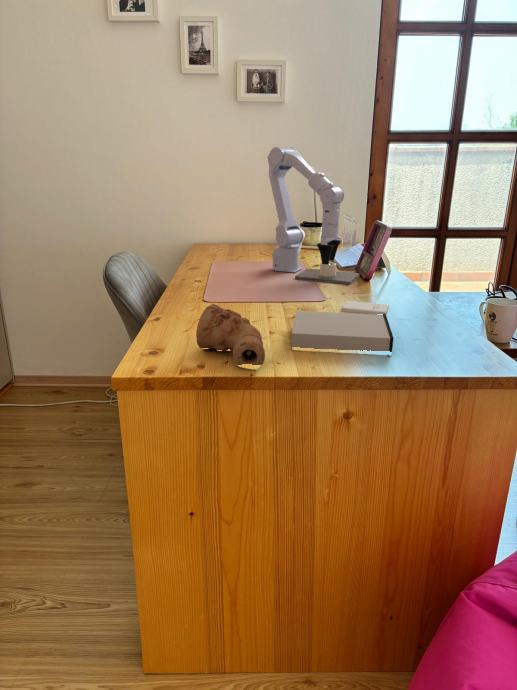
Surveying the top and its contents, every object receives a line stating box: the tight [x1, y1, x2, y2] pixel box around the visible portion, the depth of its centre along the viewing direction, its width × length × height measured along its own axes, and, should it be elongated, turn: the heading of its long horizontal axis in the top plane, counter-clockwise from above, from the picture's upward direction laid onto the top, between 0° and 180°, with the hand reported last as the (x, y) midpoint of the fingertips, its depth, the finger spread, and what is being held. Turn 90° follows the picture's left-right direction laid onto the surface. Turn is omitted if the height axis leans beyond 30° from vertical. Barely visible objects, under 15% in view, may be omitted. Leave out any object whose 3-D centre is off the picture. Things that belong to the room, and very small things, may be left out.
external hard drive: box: [341, 300, 390, 315], centre depth 146 cm, size 2×8×12 cm
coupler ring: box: [319, 261, 337, 277], centre depth 182 cm, size 6×6×4 cm
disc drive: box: [290, 310, 394, 353], centre depth 121 cm, size 18×22×5 cm
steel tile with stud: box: [294, 263, 360, 285], centre depth 182 cm, size 20×14×5 cm
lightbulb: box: [299, 228, 306, 253], centre depth 224 cm, size 6×6×11 cm
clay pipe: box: [195, 303, 266, 366], centre depth 111 cm, size 19×11×15 cm
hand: (328, 262), depth 181 cm, fingers open, 7 cm apart
